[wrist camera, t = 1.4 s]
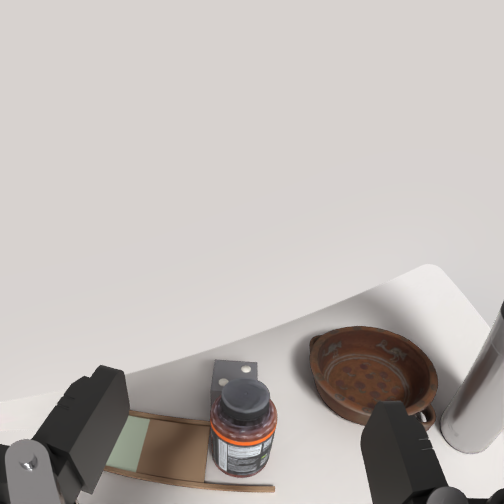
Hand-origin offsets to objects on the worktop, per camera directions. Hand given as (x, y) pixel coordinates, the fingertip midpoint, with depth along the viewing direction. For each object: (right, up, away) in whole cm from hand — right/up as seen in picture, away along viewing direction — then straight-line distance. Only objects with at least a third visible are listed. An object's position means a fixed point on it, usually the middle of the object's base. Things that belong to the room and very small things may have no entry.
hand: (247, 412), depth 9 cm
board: (-8, -16, +20) cm, 27 cm away
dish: (+16, -14, +30) cm, 37 cm away
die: (-2, -14, +27) cm, 30 cm away
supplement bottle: (-1, -17, +20) cm, 26 cm away
